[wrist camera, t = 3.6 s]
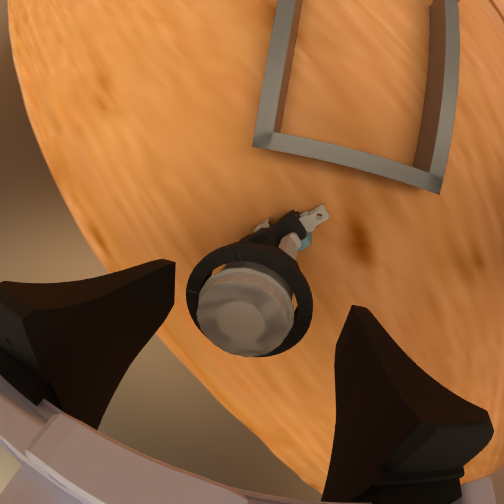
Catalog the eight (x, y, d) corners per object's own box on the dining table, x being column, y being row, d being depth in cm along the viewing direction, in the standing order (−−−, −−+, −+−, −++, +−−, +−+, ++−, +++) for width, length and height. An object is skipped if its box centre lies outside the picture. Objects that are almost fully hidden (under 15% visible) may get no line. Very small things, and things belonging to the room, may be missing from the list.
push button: (304, 173, 18) (292, 206, 9) (346, 241, 19) (368, 330, 10) (224, 226, 20) (152, 295, 11) (266, 285, 21) (229, 384, 12)
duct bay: (441, 11, 11) (457, -4, 8) (422, 186, 16) (439, 194, 13) (292, -28, 12) (287, -49, 9) (261, 146, 18) (252, 146, 15)
